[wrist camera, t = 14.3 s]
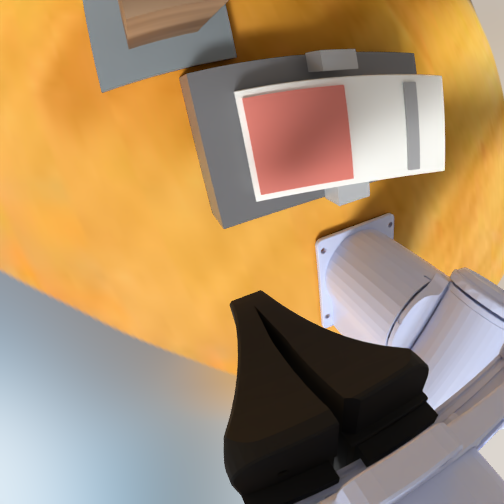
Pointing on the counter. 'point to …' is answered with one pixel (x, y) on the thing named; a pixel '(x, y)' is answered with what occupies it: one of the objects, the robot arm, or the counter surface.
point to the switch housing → (230, 133)
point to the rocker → (341, 131)
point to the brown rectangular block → (164, 18)
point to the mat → (151, 46)
